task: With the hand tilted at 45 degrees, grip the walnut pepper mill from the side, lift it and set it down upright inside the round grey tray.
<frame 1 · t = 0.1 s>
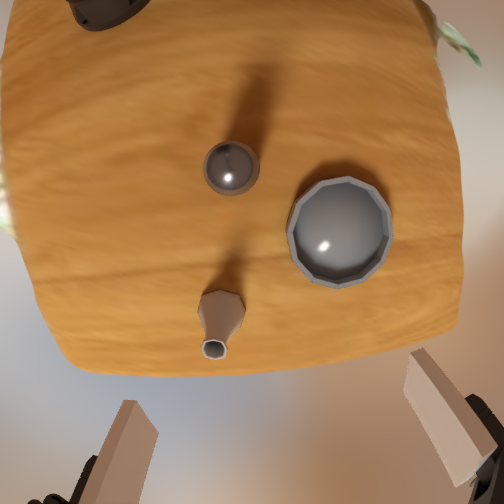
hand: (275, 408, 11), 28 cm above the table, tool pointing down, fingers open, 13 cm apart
round grey tray: (338, 231, 37), on the table
pepper mill: (236, 170, 35), on the table
flask: (221, 310, 40), on the table
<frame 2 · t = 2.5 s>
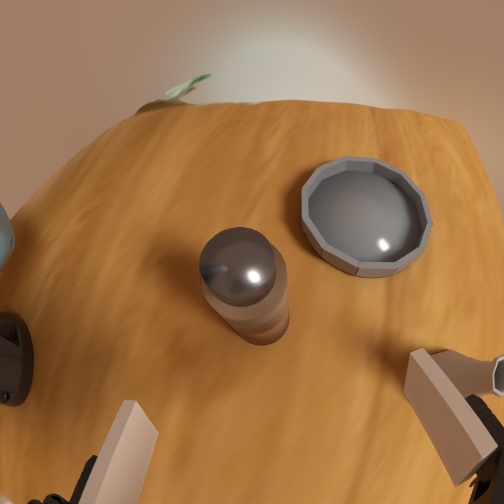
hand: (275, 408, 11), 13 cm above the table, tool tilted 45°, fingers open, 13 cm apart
round grey tray: (365, 217, 29), on the table
pepper mill: (261, 319, 26), on the table
flask: (442, 384, 20), on the table
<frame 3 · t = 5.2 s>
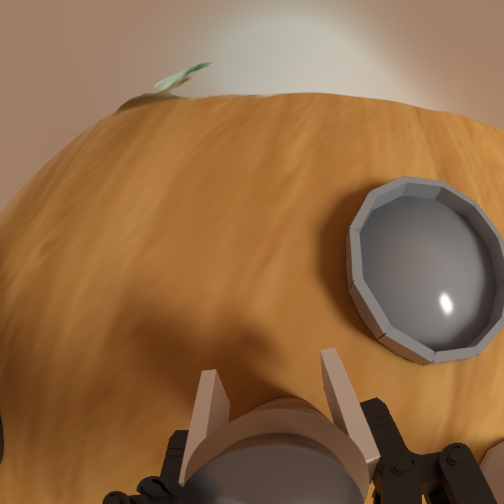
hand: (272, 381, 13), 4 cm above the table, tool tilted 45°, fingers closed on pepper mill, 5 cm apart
round grey tray: (432, 269, 18), on the table
pepper mill: (286, 433, 15), on the table, touching gripper
flask: (493, 474, 8), on the table
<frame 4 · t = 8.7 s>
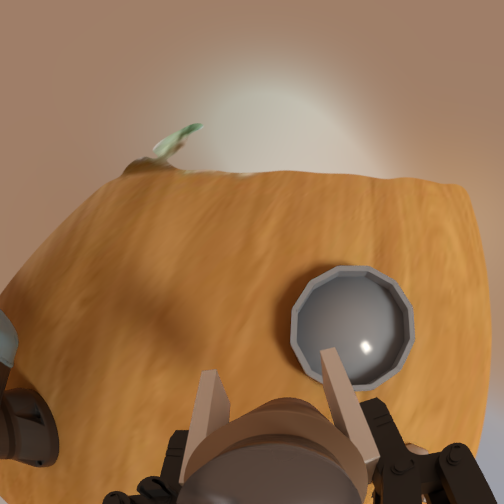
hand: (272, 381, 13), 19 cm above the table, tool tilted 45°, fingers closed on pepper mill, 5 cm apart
round grey tray: (352, 330, 31), on the table
pepper mill: (285, 433, 15), point 14 cm above the table, touching gripper
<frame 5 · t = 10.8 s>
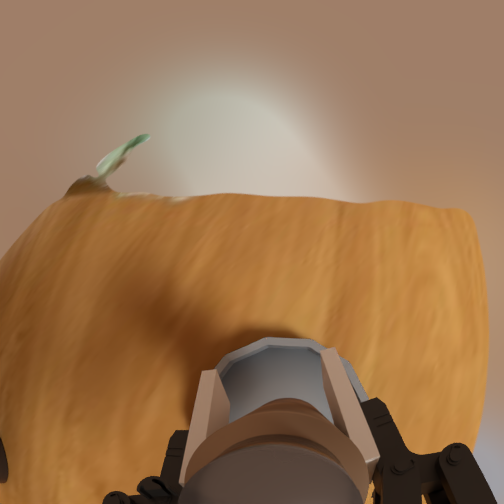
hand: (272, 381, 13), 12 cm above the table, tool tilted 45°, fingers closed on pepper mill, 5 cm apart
round grey tray: (281, 417, 22), on the table
pepper mill: (286, 434, 15), point 8 cm above the table, touching gripper
when the fingers open (6 cm above the table, at t = 12.1 s): pepper mill drops 1 cm, resting on round grey tray.
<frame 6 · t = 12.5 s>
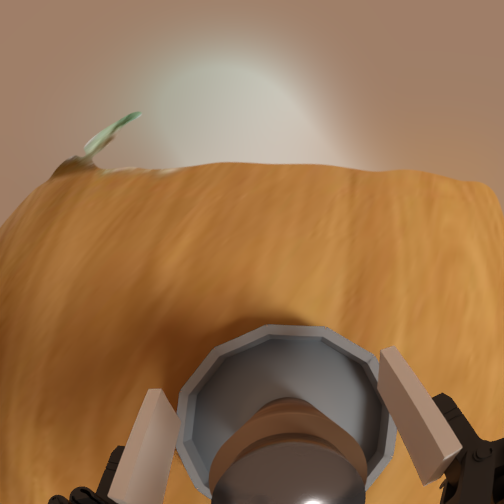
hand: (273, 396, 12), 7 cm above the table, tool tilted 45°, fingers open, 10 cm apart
round grey tray: (287, 428, 16), on the table
pepper mill: (287, 431, 16), point 1 cm above the table, touching round grey tray
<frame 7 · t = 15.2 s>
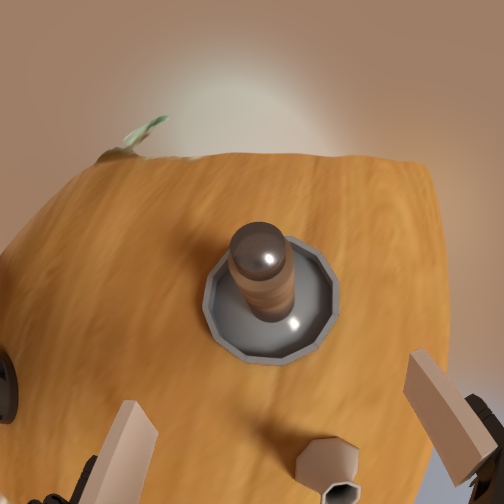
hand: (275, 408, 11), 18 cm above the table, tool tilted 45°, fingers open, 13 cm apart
round grey tray: (271, 301, 32), on the table
pepper mill: (271, 300, 31), point 1 cm above the table, touching round grey tray
flask: (326, 464, 22), on the table
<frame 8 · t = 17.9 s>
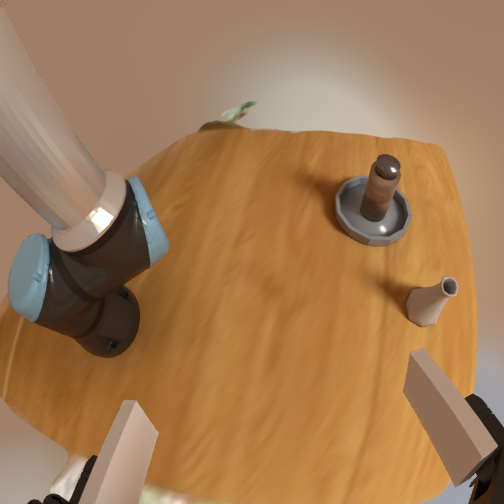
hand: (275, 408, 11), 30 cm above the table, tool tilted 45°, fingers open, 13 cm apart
round grey tray: (372, 212, 49), on the table
pepper mill: (372, 211, 48), point 1 cm above the table, touching round grey tray
flask: (422, 307, 39), on the table
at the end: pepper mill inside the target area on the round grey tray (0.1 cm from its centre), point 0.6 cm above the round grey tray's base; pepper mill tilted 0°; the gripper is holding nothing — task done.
